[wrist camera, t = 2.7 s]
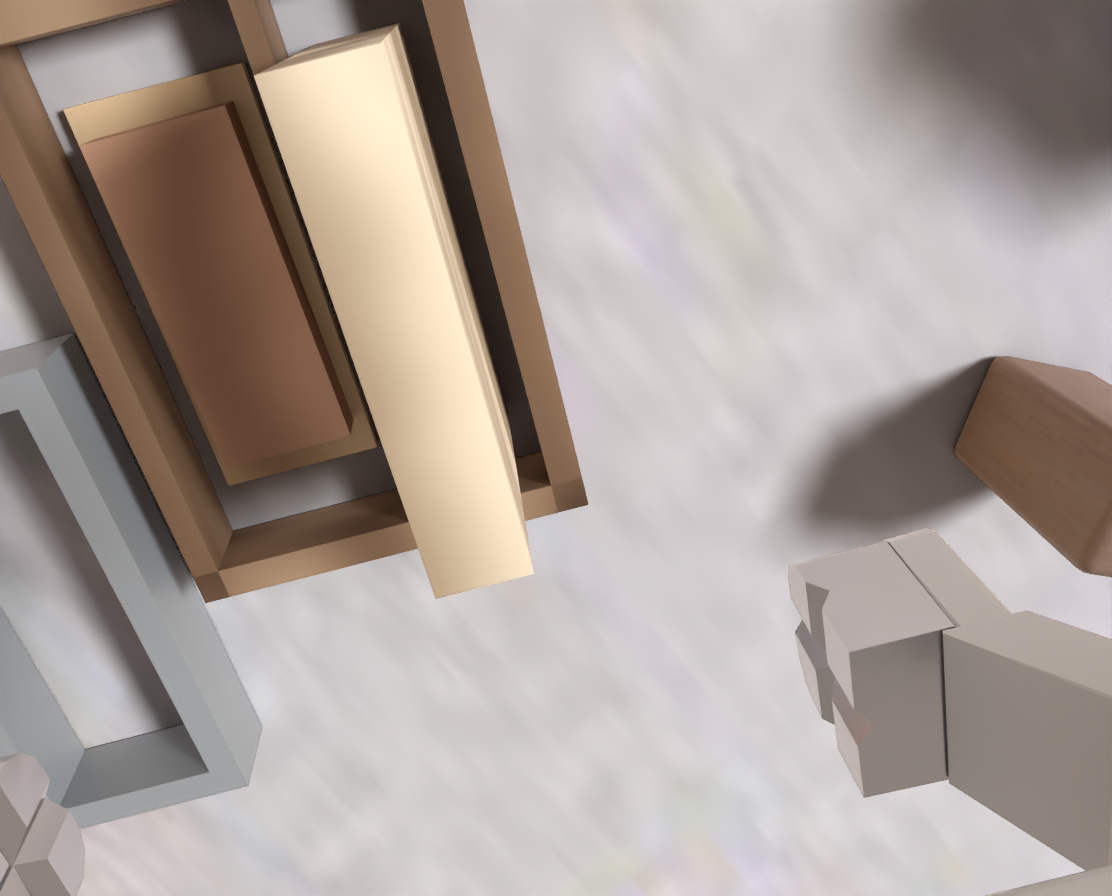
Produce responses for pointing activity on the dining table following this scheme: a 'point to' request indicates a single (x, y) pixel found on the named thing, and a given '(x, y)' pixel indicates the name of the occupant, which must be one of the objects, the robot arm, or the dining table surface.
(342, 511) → the brown divided wooden tray
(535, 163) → the dining table surface
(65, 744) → the cradle
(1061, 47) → the dining table surface
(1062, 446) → the wooden block
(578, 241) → the dining table surface
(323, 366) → the offcut upper
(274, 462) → the offcut lower
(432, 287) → the chamfered cream block
